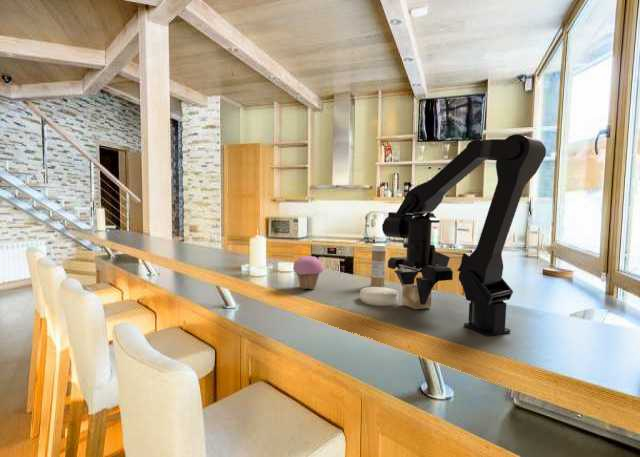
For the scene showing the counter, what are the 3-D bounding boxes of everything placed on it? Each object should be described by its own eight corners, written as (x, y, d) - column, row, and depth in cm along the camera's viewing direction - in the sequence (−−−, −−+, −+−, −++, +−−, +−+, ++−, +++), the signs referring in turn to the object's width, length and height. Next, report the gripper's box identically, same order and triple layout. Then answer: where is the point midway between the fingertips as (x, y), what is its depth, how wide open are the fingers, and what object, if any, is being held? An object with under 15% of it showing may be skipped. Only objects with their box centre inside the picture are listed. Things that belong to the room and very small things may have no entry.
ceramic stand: (405, 303, 88) (406, 294, 88) (372, 307, 85) (372, 297, 85) (384, 294, 98) (385, 285, 97) (353, 297, 94) (354, 288, 94)
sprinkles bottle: (376, 284, 110) (378, 243, 109) (387, 287, 107) (389, 244, 106) (367, 286, 107) (368, 244, 107) (378, 289, 104) (379, 245, 103)
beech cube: (430, 307, 85) (431, 287, 84) (414, 309, 83) (415, 289, 82) (418, 302, 89) (418, 283, 89) (402, 303, 87) (402, 284, 87)
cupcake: (321, 285, 107) (321, 254, 107) (323, 292, 99) (324, 258, 98) (293, 285, 107) (293, 253, 106) (292, 292, 98) (293, 257, 97)
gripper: (472, 243, 79) (469, 309, 80) (421, 236, 97) (418, 290, 98) (434, 244, 75) (431, 313, 76) (387, 237, 92) (385, 293, 93)
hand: (416, 301), depth 86 cm, fingers closed on beech cube, 5 cm apart
